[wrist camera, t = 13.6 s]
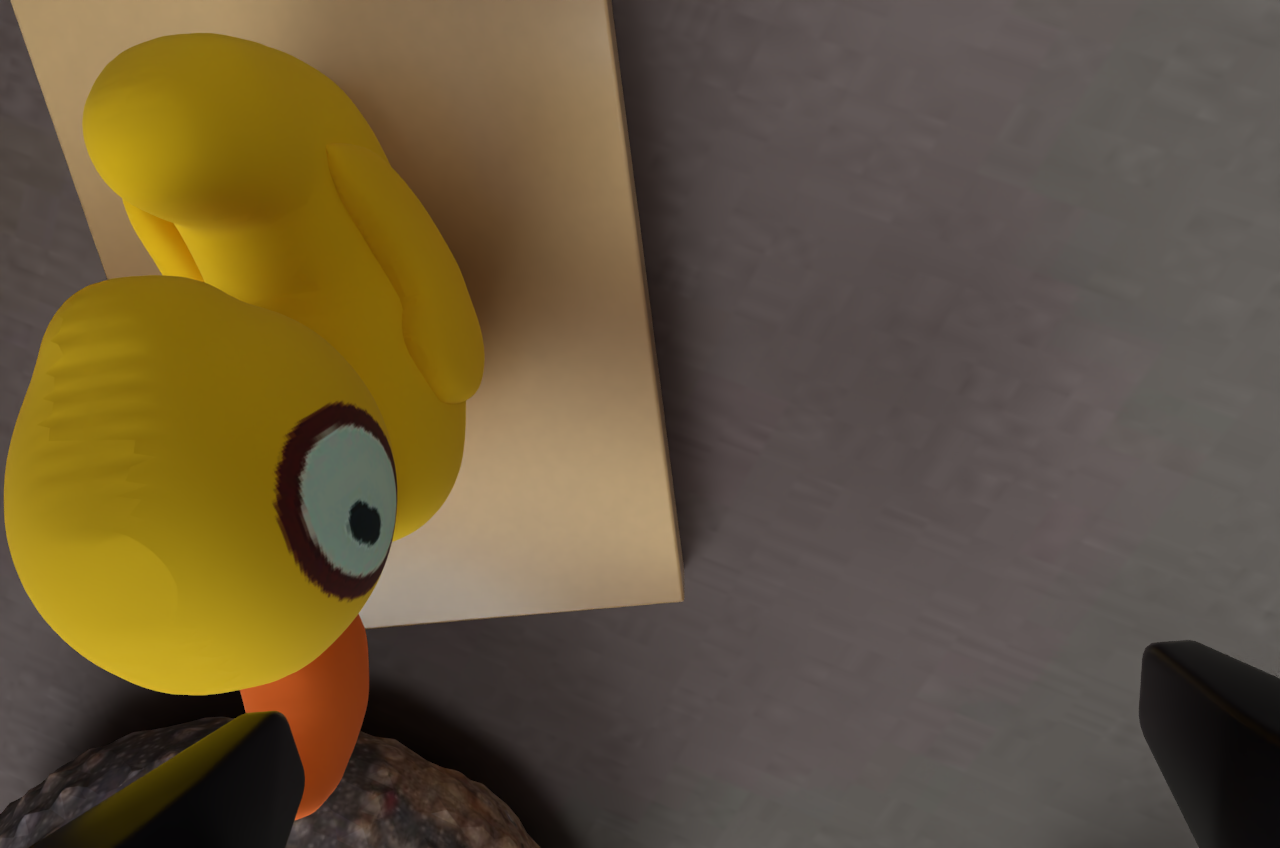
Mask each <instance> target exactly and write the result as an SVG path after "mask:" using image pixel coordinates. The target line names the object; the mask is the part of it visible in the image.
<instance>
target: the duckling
mask: <svg viewBox="0 0 1280 848" xmlns="http://www.w3.org/2000/svg"><path fill="white" fill-rule="evenodd" d="M82 128H83V136H84V141H85V145H86V148H87V151H88V154H89V156H90V158H91V161H92V163H93V165H94V166H95V168H96V170H97V172H98V173H99V175H100V176H101V178H102V179H103V180H104V181H105V183H106V184H107V185H108V186H109V187H110V188H111V189H112V190H113V191H114V192H115V193H116V194H117V195H119V196H120V197H121V198H122V201H123V204H124V207H125V210H126V213H127V215H128V218H129V220H130V222H131V224H132V226H133V228H134V230H135V232H136V234H137V235H138V237H139V238H140V240H141V242H142V243H143V245H144V247H145V248H146V250H147V251H148V253H149V254H150V256H151V257H152V259H153V260H154V262H155V264H156V266H157V267H158V269H159V270H160V272H161V274H162V275H146V276H130V277H121V278H113V279H109V280H106V281H102V282H99V283H95V284H92V285H89V286H87V287H85V288H83V289H81V290H80V291H78V292H76V293H75V294H74V295H72V296H71V297H70V298H69V299H67V300H66V301H65V302H64V303H63V305H62V306H61V307H60V308H59V309H58V311H57V312H56V313H55V315H54V316H53V318H52V320H51V321H50V323H49V325H48V327H47V330H46V332H45V334H44V337H43V340H42V343H41V346H40V350H39V354H38V358H37V362H36V366H35V369H34V372H33V376H32V379H31V382H30V385H29V388H28V390H27V393H26V396H25V398H24V401H23V404H22V407H21V410H20V412H19V415H18V418H17V421H16V424H15V428H14V431H13V435H12V439H11V443H10V448H9V452H8V457H7V463H6V470H5V481H4V517H5V527H6V534H7V540H8V544H9V549H10V553H11V556H12V559H13V562H14V565H15V568H16V571H17V573H18V576H19V578H20V580H21V582H22V584H23V586H24V588H25V590H26V592H27V594H28V596H29V598H30V599H31V601H32V602H33V604H34V606H35V607H36V609H37V610H38V611H39V613H40V614H41V615H42V617H43V618H44V619H45V621H46V622H47V623H48V624H49V625H50V626H51V628H52V629H53V630H54V631H55V632H56V633H57V634H58V635H59V636H60V637H61V638H62V639H63V640H64V641H65V642H66V643H67V644H69V645H70V646H71V647H72V648H73V649H74V650H76V651H77V652H78V653H80V654H81V655H82V656H84V657H85V658H87V659H88V660H89V661H91V662H92V663H94V664H96V665H97V666H99V667H101V668H103V669H104V670H106V671H108V672H110V673H112V674H114V675H116V676H118V677H120V678H122V679H125V680H127V681H129V682H131V683H133V684H136V685H139V686H141V687H144V688H147V689H151V690H154V691H158V692H163V693H169V694H178V695H210V694H220V693H226V692H231V691H236V690H240V693H241V696H242V700H243V704H244V708H245V712H246V713H251V712H265V711H278V712H281V713H282V714H283V715H284V716H285V717H286V718H287V720H288V723H289V725H290V728H291V731H292V734H293V737H294V740H295V743H296V746H297V749H298V752H299V755H300V758H301V762H302V765H303V768H304V773H305V787H304V792H303V796H302V799H301V802H300V805H299V808H298V811H297V814H296V817H295V820H298V819H301V818H303V817H306V816H308V815H310V814H312V813H314V812H315V811H316V810H317V809H319V808H320V807H321V805H322V804H323V803H324V802H325V801H326V800H327V799H328V797H329V796H330V795H331V794H332V792H333V791H334V790H335V789H336V787H337V786H338V784H339V782H340V781H341V779H342V777H343V774H344V772H345V769H346V767H347V764H348V762H349V759H350V757H351V754H352V752H353V749H354V747H355V744H356V742H357V739H358V735H359V732H360V729H361V726H362V723H363V719H364V716H365V712H366V709H367V704H368V696H369V657H368V643H367V636H366V632H365V628H364V625H363V623H362V620H361V618H360V616H359V612H360V611H361V609H362V608H363V606H364V605H365V603H366V602H367V600H368V598H369V597H370V595H371V593H372V592H373V590H374V588H375V586H376V584H377V582H378V580H379V578H380V576H381V573H382V571H383V569H384V566H385V563H386V560H387V557H388V554H389V551H390V547H391V544H392V542H393V541H396V540H399V539H401V538H403V537H405V536H407V535H409V534H411V533H413V532H414V531H416V530H417V529H419V528H420V527H421V526H423V525H424V524H425V523H426V522H427V521H428V520H429V519H430V518H431V517H432V516H433V515H434V514H435V513H436V512H437V511H438V510H439V509H440V508H441V506H442V505H443V504H444V502H445V501H446V499H447V498H448V496H449V494H450V492H451V490H452V488H453V486H454V484H455V482H456V479H457V476H458V473H459V470H460V467H461V463H462V458H463V452H464V443H465V431H466V400H467V399H469V398H470V397H472V396H473V395H474V394H475V393H476V391H477V390H478V388H479V386H480V384H481V381H482V377H483V372H484V362H485V353H484V343H483V337H482V332H481V328H480V325H479V321H478V318H477V315H476V312H475V309H474V307H473V304H472V301H471V298H470V295H469V293H468V290H467V287H466V284H465V281H464V278H463V276H462V273H461V271H460V268H459V266H458V264H457V262H456V260H455V258H454V256H453V254H452V252H451V251H450V249H449V247H448V245H447V244H446V242H445V240H444V239H443V237H442V235H441V233H440V232H439V230H438V228H437V227H436V225H435V223H434V222H433V220H432V218H431V217H430V215H429V214H428V212H427V211H426V209H425V208H424V206H423V205H422V203H421V202H420V200H419V199H418V198H417V196H416V195H415V194H414V192H413V191H412V190H411V189H410V188H409V186H408V185H407V184H406V182H405V181H404V180H403V179H402V178H401V177H400V175H399V174H398V173H397V172H396V171H395V170H394V169H393V168H392V167H391V165H390V163H389V161H388V159H387V157H386V155H385V153H384V151H383V149H382V147H381V145H380V143H379V141H378V139H377V138H376V136H375V134H374V132H373V131H372V129H371V127H370V126H369V124H368V123H367V121H366V120H365V118H364V117H363V115H362V114H361V112H360V111H359V110H358V108H357V107H356V106H355V104H354V103H353V102H352V100H351V99H350V98H349V97H348V96H347V95H346V93H345V92H344V91H343V90H342V89H341V88H340V87H339V86H338V85H337V84H335V83H334V82H333V81H332V80H331V79H329V78H328V77H327V76H325V75H324V74H323V73H321V72H320V71H318V70H317V69H315V68H313V67H312V66H310V65H308V64H307V63H305V62H303V61H301V60H299V59H297V58H296V57H294V56H292V55H289V54H287V53H285V52H282V51H280V50H277V49H274V48H271V47H268V46H265V45H263V44H260V43H257V42H253V41H250V40H245V39H241V38H237V37H232V36H228V35H223V34H215V33H191V34H177V35H168V36H161V37H158V38H155V39H152V40H149V41H146V42H143V43H140V44H138V45H135V46H133V47H131V48H129V49H127V50H125V51H123V52H122V53H120V54H119V55H118V56H116V57H115V58H114V59H113V60H112V61H110V62H109V63H108V64H107V65H106V66H105V68H104V69H103V70H102V72H101V73H100V75H99V76H98V77H97V79H96V80H95V82H94V84H93V86H92V88H91V91H90V93H89V95H88V98H87V100H86V103H85V106H84V111H83V119H82Z"/></svg>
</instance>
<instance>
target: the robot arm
mask: <svg viewBox="0 0 1280 848" xmlns="http://www.w3.org/2000/svg"><path fill="white" fill-rule="evenodd" d="M1139 719H1140V724H1141V729H1142V732H1143V735H1144V737H1145V739H1146V741H1147V743H1148V746H1149V748H1150V750H1151V752H1152V754H1153V756H1154V758H1155V760H1156V762H1157V764H1158V766H1159V768H1160V770H1161V772H1162V774H1163V776H1164V778H1165V780H1166V782H1167V784H1168V786H1169V788H1170V790H1171V792H1172V794H1173V796H1174V798H1175V800H1176V802H1177V804H1178V806H1179V808H1180V810H1181V812H1182V814H1183V816H1184V818H1185V820H1186V822H1187V824H1188V826H1189V828H1190V830H1191V832H1192V834H1193V836H1194V838H1195V841H1196V843H1197V845H1198V847H1199V848H1280V678H1277V677H1275V676H1273V675H1271V674H1268V673H1266V672H1264V671H1262V670H1259V669H1257V668H1255V667H1252V666H1250V665H1248V664H1246V663H1243V662H1241V661H1239V660H1237V659H1234V658H1232V657H1230V656H1228V655H1225V654H1223V653H1221V652H1219V651H1216V650H1214V649H1212V648H1210V647H1207V646H1205V645H1203V644H1201V643H1198V642H1196V641H1191V640H1182V641H1169V642H1157V643H1151V644H1150V645H1149V646H1147V647H1146V648H1145V651H1144V653H1143V658H1142V671H1141V686H1140V701H1139ZM304 787H305V773H304V768H303V765H302V762H301V758H300V755H299V752H298V749H297V746H296V743H295V740H294V737H293V734H292V731H291V728H290V725H289V723H288V720H287V718H286V717H285V716H284V715H283V714H282V713H281V712H278V711H265V712H251V713H245V714H242V715H240V716H238V717H236V718H235V719H233V720H232V721H230V722H228V723H227V724H225V725H224V726H222V727H220V728H219V729H217V730H216V731H214V732H212V733H211V734H209V735H208V736H206V737H204V738H203V739H201V740H200V741H198V742H196V743H195V744H193V745H192V746H190V747H188V748H187V749H185V750H184V751H182V752H180V753H179V754H177V755H176V756H174V757H172V758H171V759H169V760H168V761H166V762H164V763H163V764H161V765H160V766H158V767H156V768H155V769H153V770H152V771H150V772H148V773H147V774H145V775H144V776H142V777H140V778H139V779H137V780H136V781H134V782H132V783H131V784H129V785H128V786H126V787H124V788H123V789H121V790H120V791H118V792H116V793H115V794H113V795H112V796H110V797H108V798H107V799H105V800H104V801H102V802H100V803H99V804H97V805H96V806H94V807H92V808H91V809H89V810H88V811H86V812H84V813H83V814H81V815H80V816H78V817H76V818H75V819H73V820H72V821H70V822H68V823H67V824H65V825H64V826H62V827H60V828H59V829H57V830H56V831H54V832H52V833H51V834H49V835H48V836H46V837H44V838H43V839H41V840H40V841H38V842H36V843H35V844H33V845H32V846H30V847H28V848H285V847H286V844H287V841H288V838H289V835H290V832H291V829H292V826H293V823H294V820H295V817H296V814H297V811H298V808H299V805H300V802H301V799H302V796H303V792H304Z"/></svg>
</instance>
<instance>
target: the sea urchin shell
mask: <svg viewBox="0 0 1280 848" xmlns="http://www.w3.org/2000/svg"><path fill="white" fill-rule="evenodd" d="M233 719H235V718H228V717H207V718H202V719H198V720H195V721H191V722H187V723H183V724H178V725H174V726H170V727H166V728H159V729H155V730H147V731H140V732H133V733H131V734H128V735H126V736H124V737H122V738H120V739H118V740H116V741H114V742H112V743H110V744H109V745H107V746H102V747H96V748H91V749H89V750H87V751H86V752H84V753H83V754H81V755H80V756H78V757H77V758H75V759H74V760H72V761H71V762H69V763H67V764H66V765H64V766H62V767H60V768H59V769H57V770H56V771H55V772H54V773H52V774H50V775H49V777H48V778H47V779H46V780H45V781H43V782H42V783H41V784H39V785H38V786H36V787H34V788H32V789H30V790H29V791H28V792H27V793H26V794H25V795H24V796H23V797H22V798H20V799H18V800H16V801H14V802H12V803H10V804H9V805H8V806H7V807H6V808H5V810H4V811H3V812H2V813H1V814H0V848H28V847H30V846H32V845H33V844H35V843H36V842H38V841H40V840H41V839H43V838H44V837H46V836H48V835H49V834H51V833H52V832H54V831H56V830H57V829H59V828H60V827H62V826H64V825H65V824H67V823H68V822H70V821H72V820H73V819H75V818H76V817H78V816H80V815H81V814H83V813H84V812H86V811H88V810H89V809H91V808H92V807H94V806H96V805H97V804H99V803H100V802H102V801H104V800H105V799H107V798H108V797H110V796H112V795H113V794H115V793H116V792H118V791H120V790H121V789H123V788H124V787H126V786H128V785H129V784H131V783H132V782H134V781H136V780H137V779H139V778H140V777H142V776H144V775H145V774H147V773H148V772H150V771H152V770H153V769H155V768H156V767H158V766H160V765H161V764H163V763H164V762H166V761H168V760H169V759H171V758H172V757H174V756H176V755H177V754H179V753H180V752H182V751H184V750H185V749H187V748H188V747H190V746H192V745H193V744H195V743H196V742H198V741H200V740H201V739H203V738H204V737H206V736H208V735H209V734H211V733H212V732H214V731H216V730H217V729H219V728H220V727H222V726H224V725H225V724H227V723H228V722H230V721H232V720H233ZM285 848H540V846H539V845H538V844H537V843H536V842H535V841H534V840H533V839H532V838H531V837H530V836H529V835H528V834H527V833H526V831H525V829H524V827H523V825H522V823H521V822H520V820H519V818H518V817H517V816H516V814H515V813H514V812H513V811H512V810H511V808H510V807H509V806H508V805H507V804H506V803H505V802H504V801H502V800H501V799H500V798H499V797H497V796H496V795H495V794H494V793H492V792H491V791H490V790H489V789H488V788H487V787H486V786H485V785H484V784H482V783H479V782H475V781H472V780H469V779H468V778H467V777H466V776H465V775H463V774H462V773H460V772H459V771H457V770H453V769H448V768H443V767H441V766H438V765H436V764H434V763H431V762H429V761H427V760H425V759H424V758H422V757H421V756H419V755H418V754H416V753H415V752H413V751H412V750H410V749H409V748H407V747H406V746H404V745H403V744H401V743H400V742H398V741H397V740H395V739H390V738H382V737H374V736H372V735H369V734H366V733H364V732H362V731H360V732H359V735H358V739H357V742H356V744H355V747H354V749H353V752H352V754H351V757H350V759H349V762H348V764H347V767H346V769H345V772H344V774H343V777H342V779H341V781H340V782H339V784H338V786H337V787H336V789H335V790H334V791H333V792H332V794H331V795H330V796H329V797H328V799H327V800H326V801H325V802H324V803H323V804H322V805H321V807H320V808H319V809H317V810H316V811H315V812H314V813H312V814H310V815H308V816H306V817H303V818H301V819H298V820H294V823H293V826H292V829H291V832H290V835H289V838H288V841H287V844H286V847H285Z"/></svg>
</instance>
